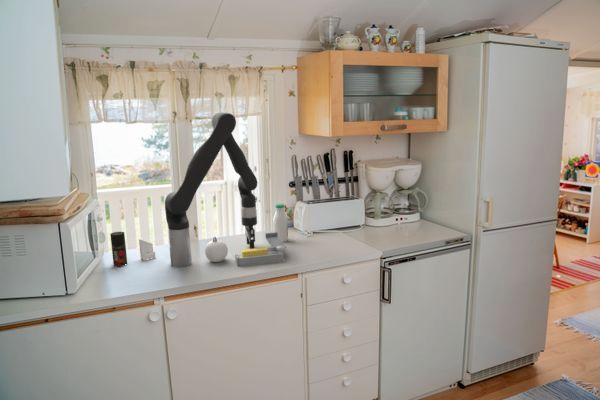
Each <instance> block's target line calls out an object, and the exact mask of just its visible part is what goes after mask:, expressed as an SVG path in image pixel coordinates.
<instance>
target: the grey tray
mask: <svg viewBox="0 0 600 400" xmlns="http://www.w3.org/2000/svg"><path fill="white" fill-rule="evenodd" d="M232 257H233V259H234V261H235V264H236V266H237V267H245V266H253V265H263V264H272V263H281V262H285V261H286V260H285V259H284V250H282V251H278V250H272V251H271V250H270V251H268V255H262V256H253V257H244V258H242V253H241V254H239V253H234V254H233V255H232Z"/></svg>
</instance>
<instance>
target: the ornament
mask: <svg viewBox="0 0 600 400" xmlns="http://www.w3.org/2000/svg"><path fill="white" fill-rule="evenodd" d="M228 251H229V250H228V246H227V244H226V243H225V242H224V241H223V240H220V239H217V237H216V236H213V238H212V240H211V241H209V242H208V243H207V244H206V246H205V249H204V254H205V256H206V259H207V260H209V261H210V262H213V263H221V262H223V261H224V260H226V258H227V256H228V253H229V252H228Z"/></svg>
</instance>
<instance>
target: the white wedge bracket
mask: <svg viewBox="0 0 600 400" xmlns="http://www.w3.org/2000/svg"><path fill="white" fill-rule="evenodd" d="M138 245H139V255H140V260H141V259H143V260H142V261H144V260H146V261H148V260H147V259H150V260H152V259H151V258H154V257H156V251H154V247H153V246H154V245H153V243H152V242H149V241H146V240H142V239H140V238H139V239H138ZM156 258H157V257H156ZM154 259H155V258H154Z"/></svg>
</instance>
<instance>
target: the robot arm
mask: <svg viewBox="0 0 600 400" xmlns="http://www.w3.org/2000/svg"><path fill="white" fill-rule="evenodd" d="M210 121H211V123H210V124H211V126H212V128H213V130H212V133H211V134H210V135H209V137H208V138H207V139H206V140H205V141H204V142H203V143H202V144H201V145H200V146H199V147H198V148H197V150H195V152H194V154H193V156H192V157H191V159H190V160H189V163H188V165H187V168H186V171H185V176H184V179H183V182H182V183H181V186H179V189H178V190H177V191H172V192H170V193H168V194H167V195H166V197H165V200H164V208H165V209H164V211H165V217H166V218H165V220H166V223H167V228H168V239H169V240H168V241H169V254H170V267H172V268H174V267H175V268H182V267H187V266H189V265H192V248H191V245H192V244H191V234H190V233H191V232H190V220H189V218H188V215H187V211H188V210H189V208H190V206H191V204H192V202H193V199H194V198H195V195H196V193H197V191H198V189H199V188H200V186H201V184H202V182H203V181H204V179H205V178H206V176H207V174H208V172H209V171H210V169H211V168H212V165H213V164H214V162H215V161H216V158H217V157H218V155H219V153H220V151H221V149H222V147H224V149H225V151H226V154H227V156H228V157H229V160H230V162H231V165H232V167H233V170H234V171H235V173H236V174H237V175H239V178H238V180H237V187H238V191H239V195H240V198H241V199H240V201H241V202H240V203H241V209H240V210H241V211H240V212H241V225H242V226H243V227H244V228H245V229H244V233H245V238H246V244H247V245H249V249H255V242H256V233H255V232H256V231H255V228H254V226H257V224H258V216H257V215H258V213H257V212H258V211H257V203H256V200H257V199H256V195H255V194H254V193H252V191H255V190H256V188H257V187H258V179H257V177H256V175H255V173H254V171H252V169H251V167H250V166H249V163H248V160H247V158H246V156H245V154H244V152H243V150H242V148H241V147H240V146H239V144H238V142H237V141H236V139H235V138H234V136H233V133H234V130H235V128H236V126H237V119H236V117H235V116H234V114H232V113H229V112H217V113H214V114H213V116H212V117H211V120H210Z"/></svg>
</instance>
